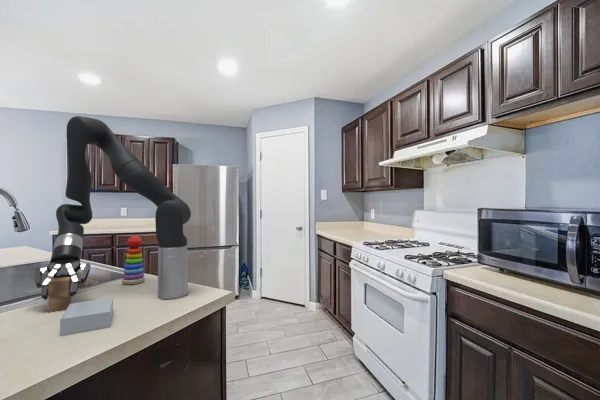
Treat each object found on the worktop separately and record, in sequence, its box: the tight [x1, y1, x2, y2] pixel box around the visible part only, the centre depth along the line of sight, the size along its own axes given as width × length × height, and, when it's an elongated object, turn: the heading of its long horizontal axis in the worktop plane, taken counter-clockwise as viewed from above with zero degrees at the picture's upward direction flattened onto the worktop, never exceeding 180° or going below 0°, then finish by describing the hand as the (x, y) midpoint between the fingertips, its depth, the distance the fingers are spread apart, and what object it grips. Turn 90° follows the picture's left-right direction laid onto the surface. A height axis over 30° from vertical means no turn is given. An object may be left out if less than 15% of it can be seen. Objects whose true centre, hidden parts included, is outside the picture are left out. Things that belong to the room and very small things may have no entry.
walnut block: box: [47, 277, 72, 314], centre depth 85 cm, size 4×4×9 cm
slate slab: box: [59, 297, 114, 337], centre depth 76 cm, size 10×12×4 cm
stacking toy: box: [121, 235, 145, 286], centre depth 113 cm, size 8×8×19 cm
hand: (58, 296), depth 83 cm, fingers open, 5 cm apart
